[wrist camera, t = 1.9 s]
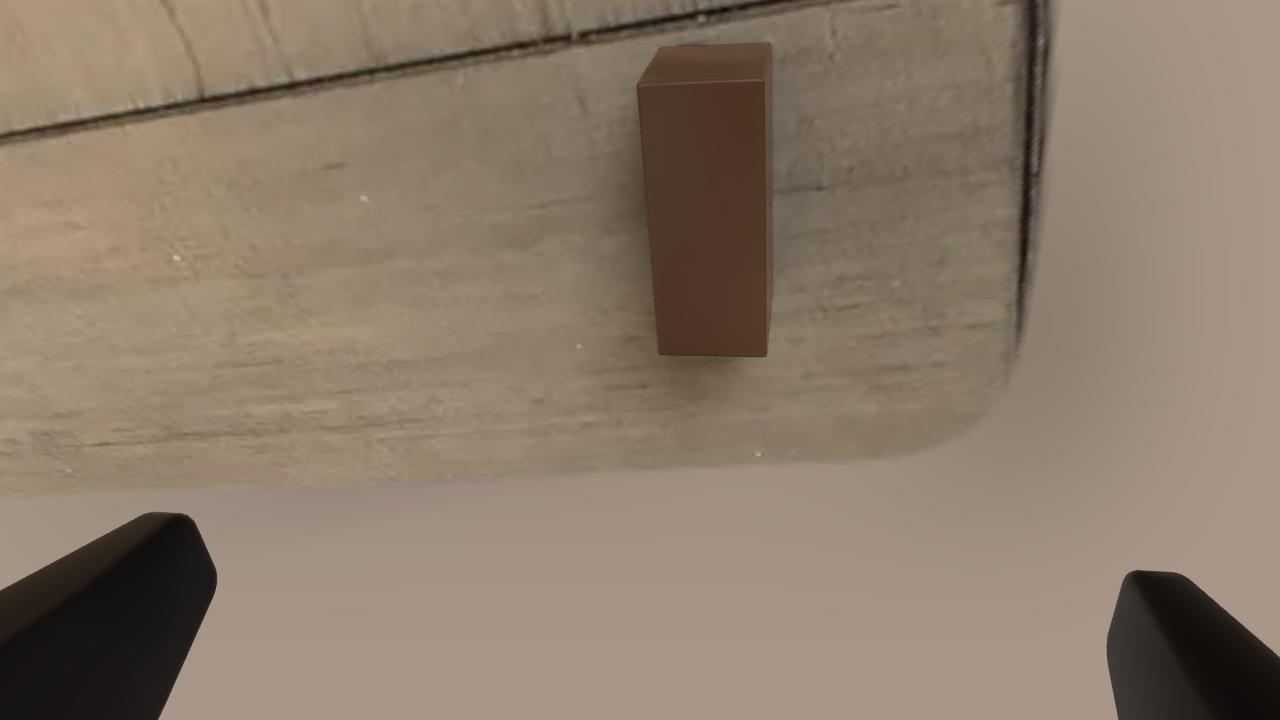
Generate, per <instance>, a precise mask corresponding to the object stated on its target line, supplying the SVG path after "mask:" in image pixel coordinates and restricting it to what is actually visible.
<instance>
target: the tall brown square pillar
mask: <svg viewBox="0 0 1280 720" xmlns="http://www.w3.org/2000/svg"><path fill="white" fill-rule="evenodd" d="M637 98H638V110H639V122H640V134H641V147H642V159H643V171H644V183H645V196H646V208H647V220H648V232H649V245H650V257H651V269H652V282H653V294H654V306H655V318H656V331H657V343H658V353H659V355H681V356H731V357H766V356H767V351H768V341H769V330H770V320H771V309H772V299H773V187H772V44H771V43H747V44H724V45H702V46H679V47H661V48H659V50H658V51H657V53H656V54H655V56H654V58H653V59H652V61H651V62H650V64H649V65H648V67H647V69H646V70H645V72H644V73H643V75H642V76H641V78H640V80H639V81H638V83H637Z"/></svg>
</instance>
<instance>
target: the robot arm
mask: <svg viewBox="0 0 1280 720" xmlns="http://www.w3.org/2000/svg"><path fill="white" fill-rule="evenodd" d="M216 585H217V573H216V569H215V566H214V564H213V561H212V559H211V557H210V555H209V552H208V550H207V548H206V546H205V543H204V541H203V539H202V537H201V535H200V532H199V530H198V528H197V526H196V524H195V522H194V520H192V519H191V518H190V517H189V516H188V515H185V514H181V513H168V512H150V513H146V514H143V515H141V516H139V517H137V518H135V519H134V520H132V521H130V522H128V523H126V524H124V525H122V526H120V527H119V528H117V529H115V530H113V531H111V532H109V533H107V534H105V535H104V536H102V537H100V538H98V539H96V540H94V541H92V542H91V543H89V544H87V545H85V546H83V547H81V548H79V549H78V550H76V551H74V552H72V553H70V554H68V555H66V556H65V557H62V558H61V559H59V560H57V561H55V562H53V563H51V564H49V565H47V566H46V567H44V568H42V569H40V570H38V571H36V572H34V573H33V574H31V575H29V576H27V577H25V578H23V579H21V580H19V581H18V582H16V583H14V584H12V585H10V586H8V587H6V588H4V589H2V590H1V591H0V720H158V719H159V717H160V715H161V713H162V710H163V708H164V706H165V704H166V701H167V700H168V697H169V695H170V693H171V691H172V688H173V686H174V684H175V681H176V679H177V677H178V675H179V672H180V670H181V668H182V666H183V663H184V661H185V659H186V657H187V655H188V652H189V650H190V648H191V646H192V643H193V641H194V639H195V637H196V634H197V632H198V630H199V627H200V625H201V623H202V621H203V619H204V616H205V614H206V612H207V610H208V607H209V605H210V603H211V601H212V598H213V596H214V593H215V590H216ZM1107 660H1108V667H1109V672H1110V678H1111V683H1112V688H1113V693H1114V699H1115V704H1116V709H1117V714H1118V720H1280V657H1279V656H1278V655H1276V654H1275V653H1274V652H1273V651H1272V650H1271V649H1270V648H1269V647H1267V646H1266V645H1265V644H1264V643H1263V642H1262V641H1260V640H1259V639H1258V638H1257V637H1256V636H1255V635H1253V634H1252V633H1251V632H1250V631H1249V630H1248V629H1246V628H1245V627H1244V626H1243V625H1242V624H1241V623H1240V622H1238V621H1237V620H1236V619H1235V618H1234V617H1232V616H1231V615H1230V614H1229V613H1228V612H1227V611H1226V610H1224V609H1223V608H1222V607H1221V606H1220V605H1219V604H1218V603H1216V602H1215V601H1214V600H1213V599H1212V598H1211V597H1209V596H1208V595H1207V594H1206V593H1205V592H1204V591H1202V590H1201V589H1200V588H1199V587H1198V586H1197V585H1196V584H1194V583H1193V582H1192V581H1191V580H1189V579H1188V578H1186V577H1185V576H1183V575H1181V574H1178V573H1174V572H1158V571H1141V570H1136V571H1132V572H1130V573H1128V574H1127V575H1126V577H1125V578H1124V580H1123V583H1122V586H1121V589H1120V593H1119V597H1118V600H1117V604H1116V608H1115V611H1114V615H1113V618H1112V622H1111V625H1110V629H1109V632H1108V637H1107Z"/></svg>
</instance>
